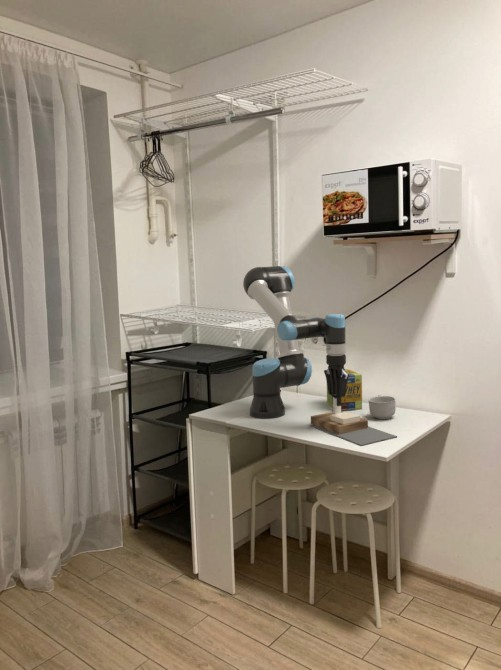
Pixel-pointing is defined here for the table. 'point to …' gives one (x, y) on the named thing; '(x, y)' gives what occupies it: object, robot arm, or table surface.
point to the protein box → (350, 393)
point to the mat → (361, 435)
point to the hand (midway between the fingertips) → (337, 413)
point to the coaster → (345, 417)
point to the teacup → (382, 406)
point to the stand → (337, 424)
